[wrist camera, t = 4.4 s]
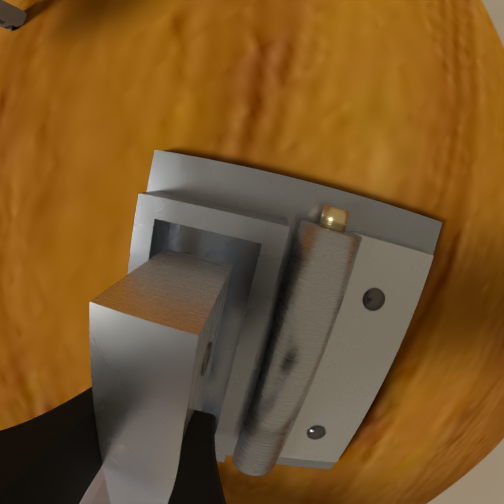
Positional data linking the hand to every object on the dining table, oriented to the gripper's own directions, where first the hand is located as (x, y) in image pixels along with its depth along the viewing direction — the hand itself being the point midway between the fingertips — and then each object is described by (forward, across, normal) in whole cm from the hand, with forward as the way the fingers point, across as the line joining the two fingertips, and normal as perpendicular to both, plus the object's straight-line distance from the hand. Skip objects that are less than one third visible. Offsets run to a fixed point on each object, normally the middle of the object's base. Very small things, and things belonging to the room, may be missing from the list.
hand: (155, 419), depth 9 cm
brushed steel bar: (+3, 0, 0) cm, 3 cm away
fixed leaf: (+7, -3, 0) cm, 7 cm away
